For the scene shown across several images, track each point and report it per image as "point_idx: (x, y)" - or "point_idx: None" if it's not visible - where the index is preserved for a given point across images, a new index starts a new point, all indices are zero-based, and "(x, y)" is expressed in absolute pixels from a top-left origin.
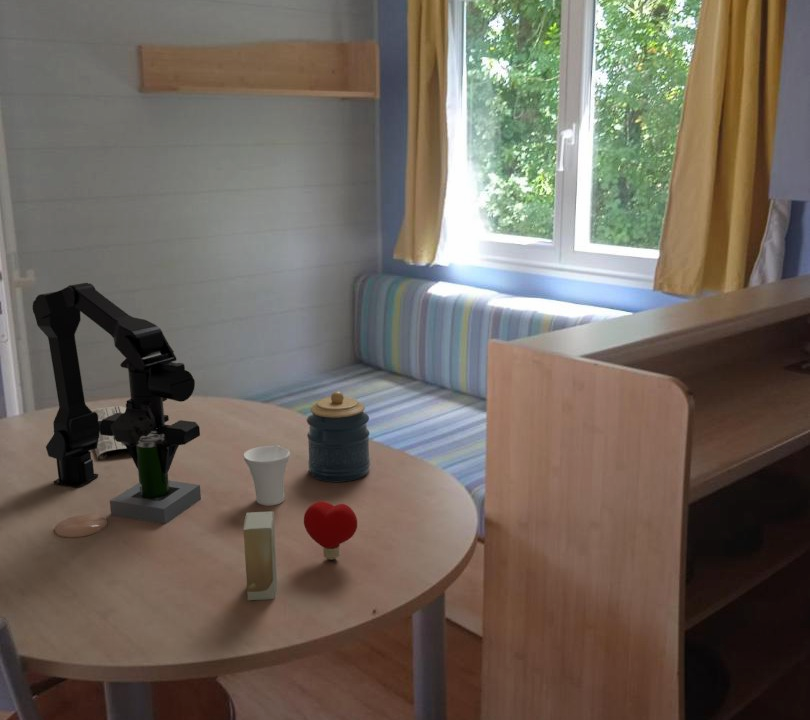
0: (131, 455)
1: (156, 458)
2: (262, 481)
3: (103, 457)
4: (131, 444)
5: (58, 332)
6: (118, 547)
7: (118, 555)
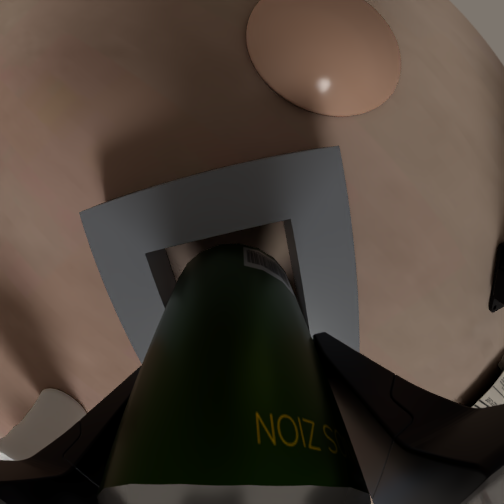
0: (383, 372)
1: (123, 414)
2: (23, 421)
3: (502, 360)
4: (406, 455)
5: None
6: (109, 25)
7: (81, 11)
